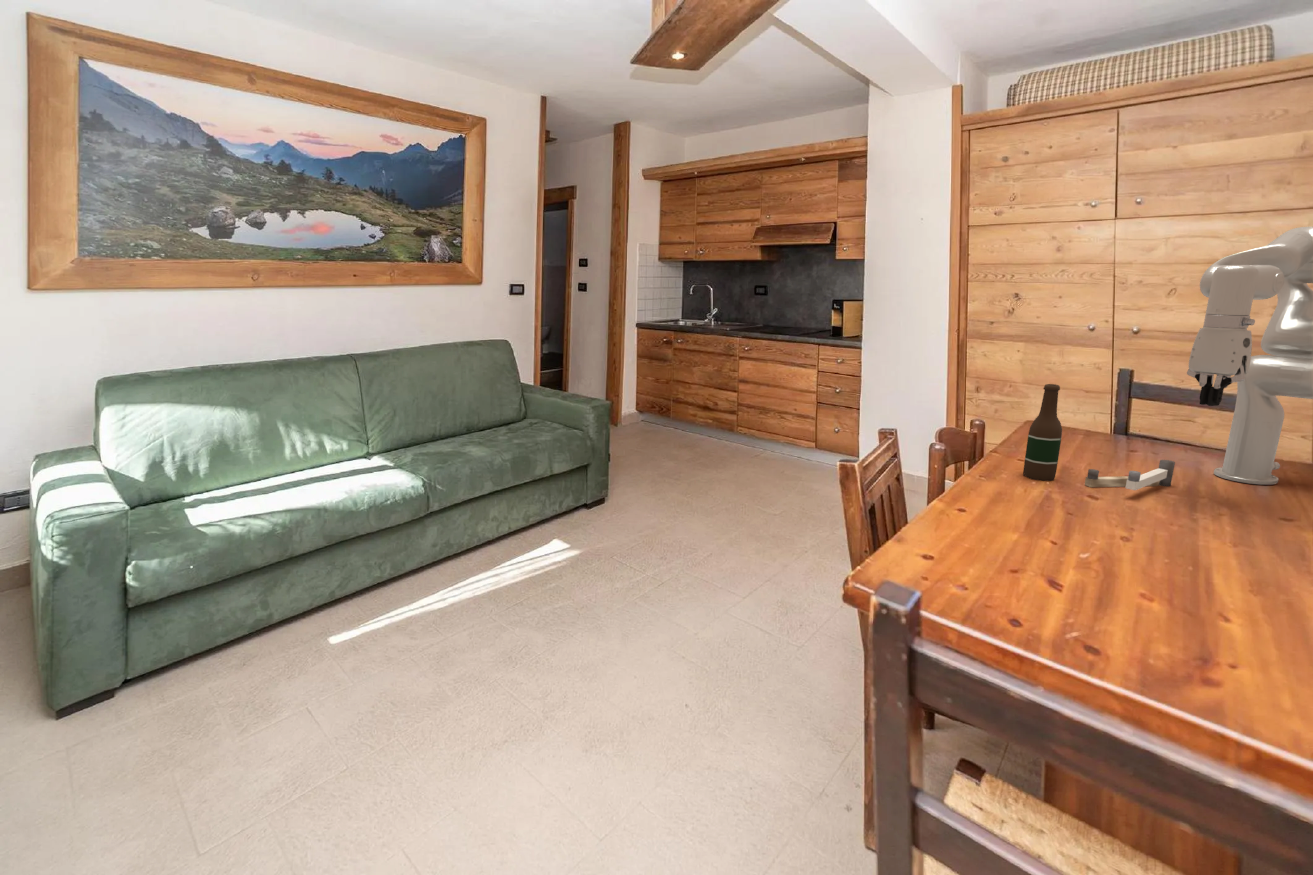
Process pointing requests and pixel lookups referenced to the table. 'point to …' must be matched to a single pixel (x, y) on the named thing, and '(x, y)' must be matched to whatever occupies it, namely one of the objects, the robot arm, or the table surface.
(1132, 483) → the tongs moving jaw
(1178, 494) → the table surface
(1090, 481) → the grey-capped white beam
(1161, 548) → the table surface
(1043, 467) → the beer bottle
